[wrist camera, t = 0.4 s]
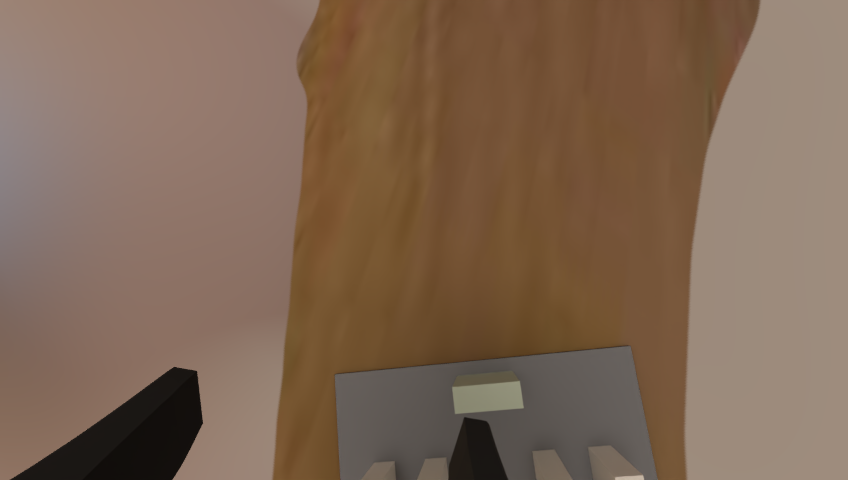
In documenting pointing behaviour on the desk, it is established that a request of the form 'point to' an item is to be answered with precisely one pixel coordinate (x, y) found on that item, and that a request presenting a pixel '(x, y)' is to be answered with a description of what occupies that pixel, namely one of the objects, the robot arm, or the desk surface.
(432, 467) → the domino
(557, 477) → the domino
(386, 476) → the domino
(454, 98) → the desk surface
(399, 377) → the charcoal mat
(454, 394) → the sage domino
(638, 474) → the domino
